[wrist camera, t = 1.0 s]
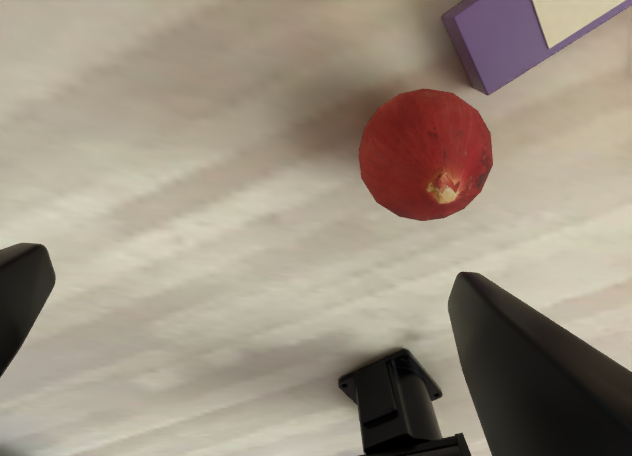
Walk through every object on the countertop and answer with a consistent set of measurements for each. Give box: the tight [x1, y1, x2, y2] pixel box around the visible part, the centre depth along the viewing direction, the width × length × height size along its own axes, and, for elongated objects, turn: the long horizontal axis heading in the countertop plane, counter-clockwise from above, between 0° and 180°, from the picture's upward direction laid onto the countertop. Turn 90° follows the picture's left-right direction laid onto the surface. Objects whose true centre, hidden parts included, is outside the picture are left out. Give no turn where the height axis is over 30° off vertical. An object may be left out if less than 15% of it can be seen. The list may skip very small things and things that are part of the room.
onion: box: [359, 89, 493, 221], centre depth 17 cm, size 6×6×8 cm
